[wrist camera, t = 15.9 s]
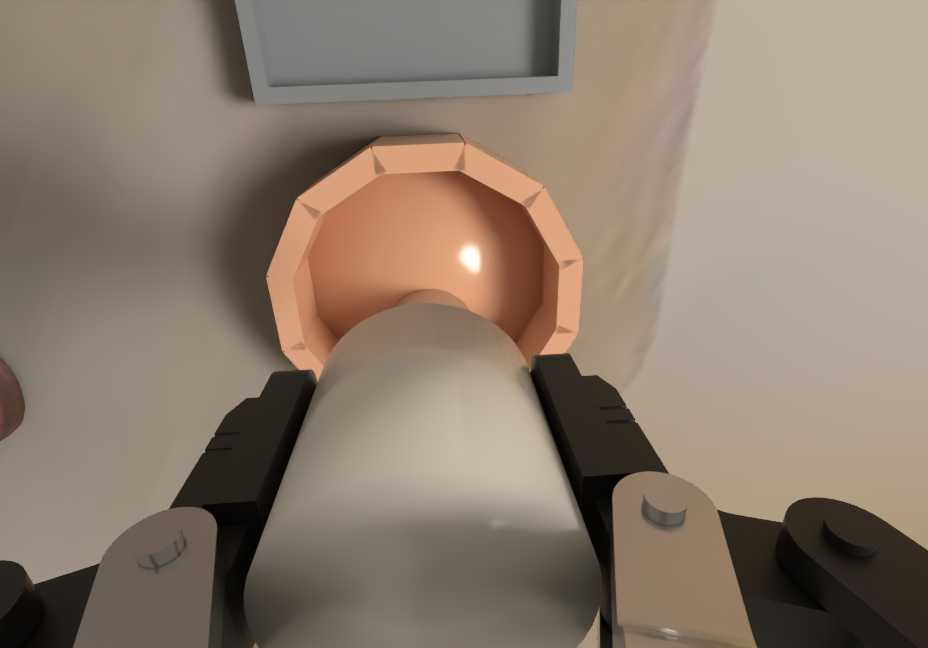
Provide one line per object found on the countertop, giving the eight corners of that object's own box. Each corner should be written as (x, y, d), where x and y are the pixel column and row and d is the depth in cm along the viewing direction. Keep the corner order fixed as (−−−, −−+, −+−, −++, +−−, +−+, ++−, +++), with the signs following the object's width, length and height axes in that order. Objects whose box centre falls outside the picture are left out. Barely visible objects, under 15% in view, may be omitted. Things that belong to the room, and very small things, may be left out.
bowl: (269, 141, 22) (239, 152, 18) (565, 128, 22) (592, 136, 19) (317, 393, 27) (301, 439, 24) (553, 377, 28) (571, 420, 24)
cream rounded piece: (300, 310, 9) (201, 489, 5) (535, 296, 10) (619, 458, 5) (335, 489, 11) (281, 725, 7) (529, 475, 11) (588, 697, 7)
